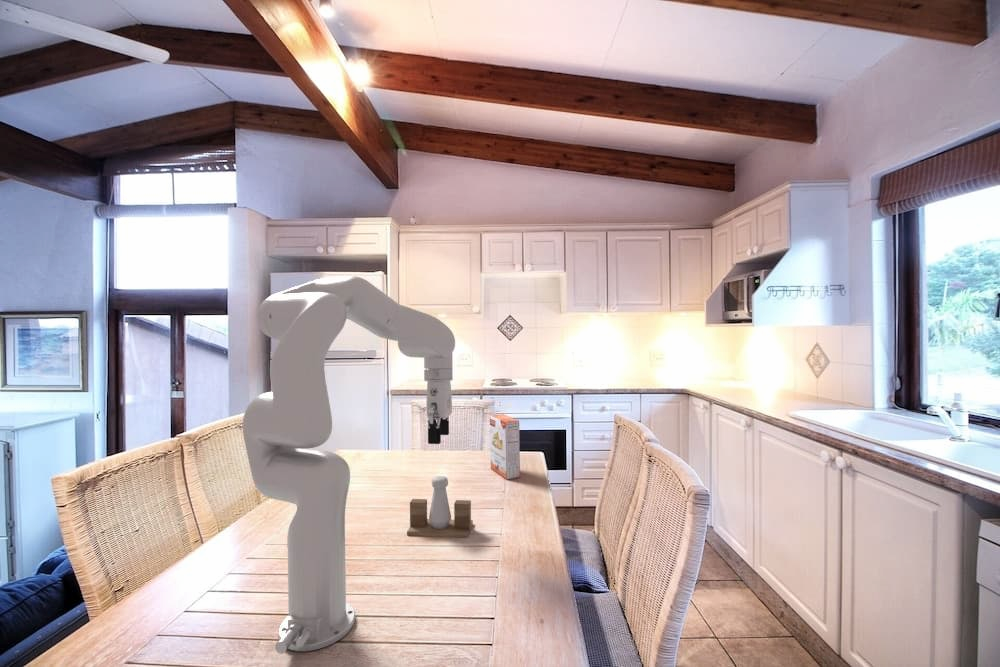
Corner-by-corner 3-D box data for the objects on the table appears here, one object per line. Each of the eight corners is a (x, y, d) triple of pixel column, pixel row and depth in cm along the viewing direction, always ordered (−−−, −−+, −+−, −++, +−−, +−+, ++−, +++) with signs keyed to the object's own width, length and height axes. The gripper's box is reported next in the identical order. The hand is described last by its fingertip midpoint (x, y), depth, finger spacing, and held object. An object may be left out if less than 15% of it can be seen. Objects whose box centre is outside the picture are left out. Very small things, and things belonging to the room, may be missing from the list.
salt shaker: (447, 532, 114) (446, 481, 114) (426, 530, 115) (425, 480, 115) (453, 522, 120) (453, 474, 119) (433, 520, 121) (433, 473, 121)
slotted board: (467, 537, 113) (467, 508, 113) (406, 535, 114) (406, 506, 114) (472, 523, 121) (472, 496, 121) (415, 521, 122) (415, 494, 122)
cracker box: (489, 469, 168) (489, 414, 168) (503, 467, 171) (503, 413, 171) (505, 480, 155) (504, 421, 155) (520, 478, 158) (520, 419, 158)
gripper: (444, 378, 108) (445, 447, 108) (458, 371, 125) (459, 431, 125) (415, 378, 109) (415, 447, 109) (432, 371, 126) (433, 431, 126)
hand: (438, 439), depth 117 cm, fingers open, 9 cm apart
